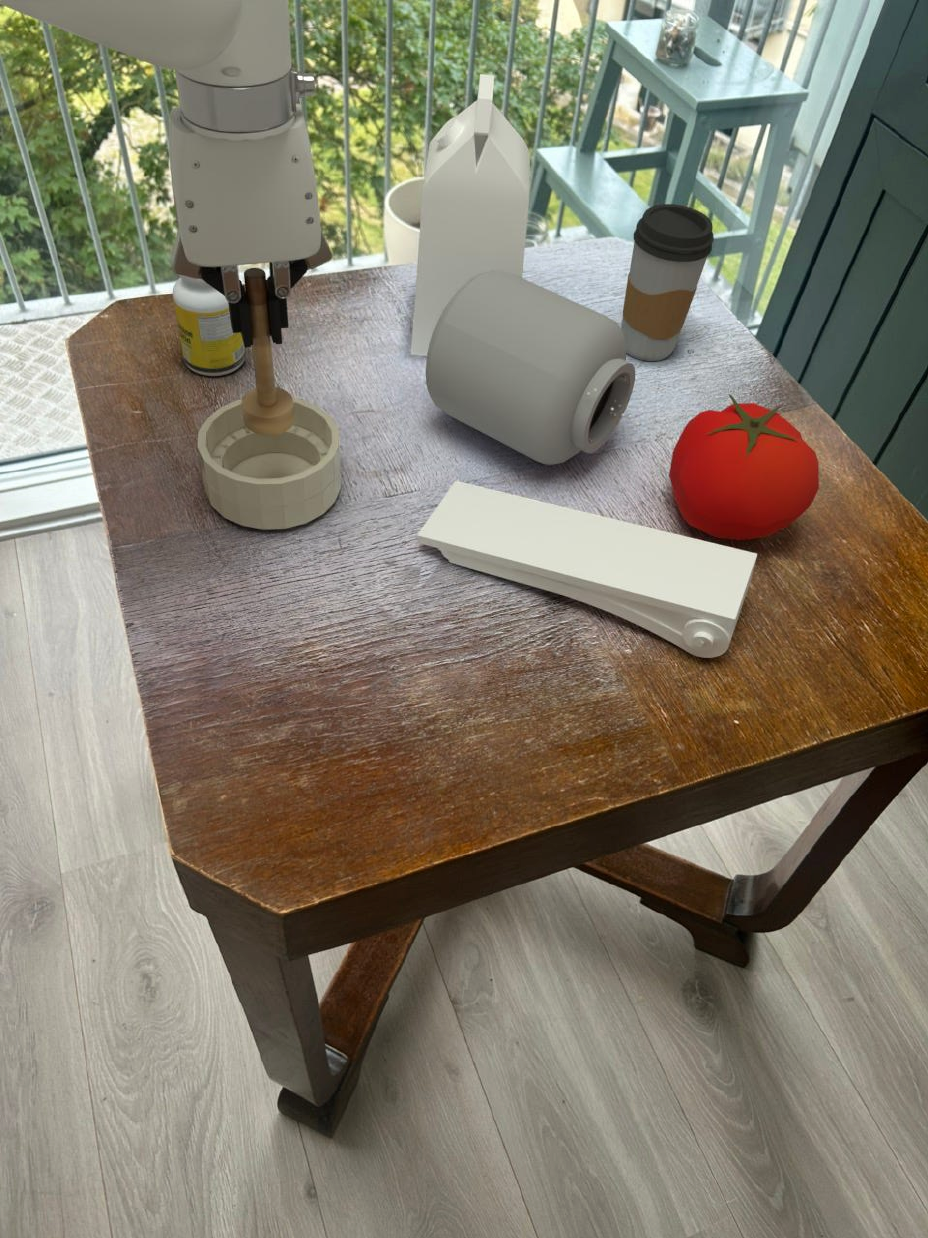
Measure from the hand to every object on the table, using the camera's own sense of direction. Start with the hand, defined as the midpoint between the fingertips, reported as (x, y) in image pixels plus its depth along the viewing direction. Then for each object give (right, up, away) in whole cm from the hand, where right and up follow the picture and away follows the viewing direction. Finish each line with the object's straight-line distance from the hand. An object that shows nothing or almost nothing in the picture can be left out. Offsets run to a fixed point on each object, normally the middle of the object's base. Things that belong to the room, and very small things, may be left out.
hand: (260, 334), depth 77 cm
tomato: (+42, -13, +15) cm, 46 cm away
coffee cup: (+38, +8, +33) cm, 51 cm away
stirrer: (-1, -6, +6) cm, 9 cm away
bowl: (-1, -11, +12) cm, 16 cm away
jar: (+26, -5, +21) cm, 34 cm away
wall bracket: (+27, -19, +8) cm, 34 cm away
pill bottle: (-10, +4, +25) cm, 27 cm away
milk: (+17, +10, +32) cm, 38 cm away
